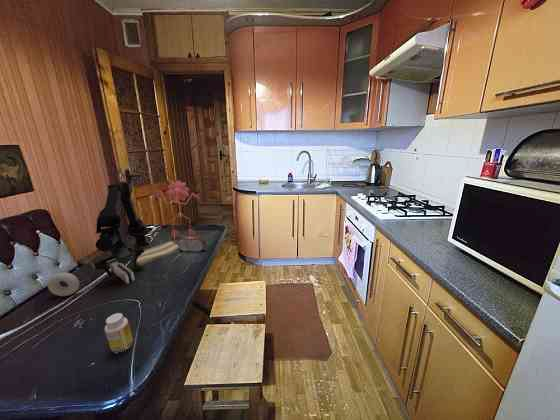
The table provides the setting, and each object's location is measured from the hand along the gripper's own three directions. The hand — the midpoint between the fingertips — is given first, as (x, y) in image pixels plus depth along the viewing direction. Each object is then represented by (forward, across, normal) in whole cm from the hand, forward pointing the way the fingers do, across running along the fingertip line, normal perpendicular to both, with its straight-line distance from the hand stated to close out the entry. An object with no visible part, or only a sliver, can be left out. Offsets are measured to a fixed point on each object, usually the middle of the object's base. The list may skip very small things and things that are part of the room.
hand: (123, 273), depth 105 cm
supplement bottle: (+2, -15, -42) cm, 45 cm away
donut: (+2, -19, +3) cm, 19 cm away
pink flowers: (+2, +41, +18) cm, 45 cm away
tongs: (+1, 0, +1) cm, 2 cm away
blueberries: (+2, -20, -21) cm, 29 cm away
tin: (+2, +32, -4) cm, 32 cm away
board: (+1, +19, +9) cm, 21 cm away
